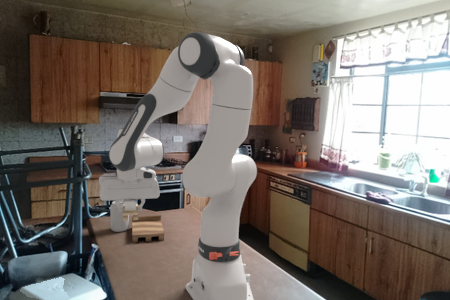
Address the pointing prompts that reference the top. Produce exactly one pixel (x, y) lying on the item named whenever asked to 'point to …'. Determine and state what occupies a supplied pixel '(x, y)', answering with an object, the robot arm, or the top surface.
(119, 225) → the can
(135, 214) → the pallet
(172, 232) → the top surface
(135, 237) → the dock
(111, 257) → the top surface
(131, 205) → the white rectangular block
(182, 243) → the top surface
